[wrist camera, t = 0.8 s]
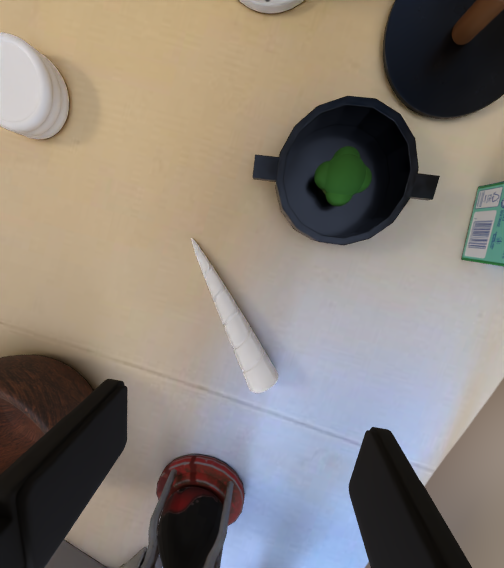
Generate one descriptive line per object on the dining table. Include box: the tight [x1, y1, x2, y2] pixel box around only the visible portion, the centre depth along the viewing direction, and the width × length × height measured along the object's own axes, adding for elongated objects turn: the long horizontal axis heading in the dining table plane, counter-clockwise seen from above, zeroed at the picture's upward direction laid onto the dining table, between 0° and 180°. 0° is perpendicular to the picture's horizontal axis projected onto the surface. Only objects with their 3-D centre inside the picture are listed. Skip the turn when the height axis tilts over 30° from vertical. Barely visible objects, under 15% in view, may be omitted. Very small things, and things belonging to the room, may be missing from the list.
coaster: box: [0, 32, 69, 139], centre depth 29 cm, size 10×10×4 cm
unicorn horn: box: [191, 238, 278, 393], centre depth 33 cm, size 5×24×5 cm, turn 23°
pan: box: [253, 96, 440, 245], centre depth 27 cm, size 15×20×5 cm
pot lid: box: [383, 0, 504, 119], centre depth 23 cm, size 16×16×6 cm
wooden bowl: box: [0, 355, 93, 475], centre depth 37 cm, size 25×25×10 cm
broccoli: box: [314, 146, 372, 206], centre depth 26 cm, size 6×6×6 cm
